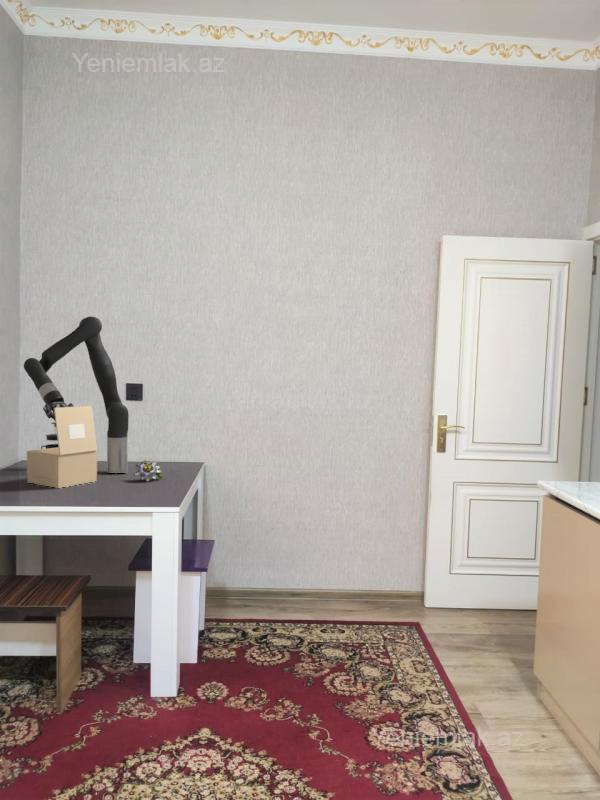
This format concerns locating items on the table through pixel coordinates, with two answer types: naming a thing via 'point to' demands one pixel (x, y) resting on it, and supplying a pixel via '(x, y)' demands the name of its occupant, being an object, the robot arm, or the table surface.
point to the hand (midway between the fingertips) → (68, 423)
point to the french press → (52, 437)
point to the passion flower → (148, 470)
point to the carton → (61, 467)
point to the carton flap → (75, 429)
